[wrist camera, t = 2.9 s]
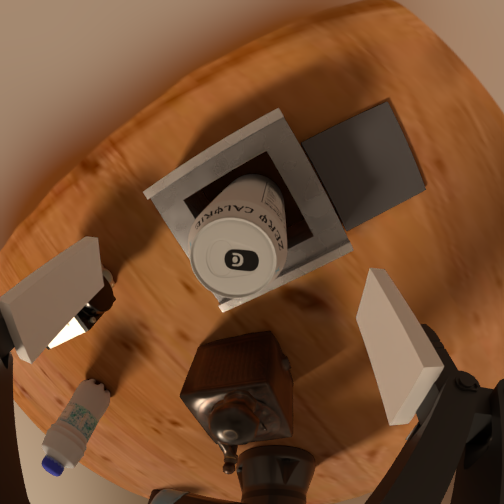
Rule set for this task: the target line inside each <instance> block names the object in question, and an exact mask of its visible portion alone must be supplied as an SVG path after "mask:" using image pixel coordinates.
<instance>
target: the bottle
mask: <svg viewBox="0 0 504 504" xmlns="http://www.w3.org/2000/svg"><path fill="white" fill-rule="evenodd" d="M95 383H96V381H95V380H94V379H90V380H84V381H82V382H81V383H80V384H79V386H78V387H77V389H76V391H75V392H74V394H73V396H72V398H71V400H70V401H69V403H68V404H67V406H66V407H65V409H64V410H63V412H62V414H61V415H60V417H59V418H58V420H57V421H56V423H55V424H52V425H51V428H50V429H49V430H47V433H46V436H45V438H44V441H43V443H42V449H43V450H44V452H45V453H46V456H45V457H44V459H43V461H42V466H43V468H44V469H45V470H46V471H47V472H49V473H50V474H52V475H54V476H60V475H61V474H62V472H63V470H64V467H66V468H74V467H75V466H76V465H77V463H78V462H79V460H80V459H81V458H82V457H83V456H84V452H85V450H86V444H87V442H88V440H89V438H90V437H91V435H92V433H93V431H94V429H95V427H96V425H97V423H98V422H99V420H100V418H101V417H102V416H103V414H104V413H105V411H106V409H107V408H108V406H109V403H110V392H109V391H108V390H105V391H104V385H103V384H102V383H100V384H99V385H96V384H95Z"/></svg>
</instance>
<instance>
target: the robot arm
mask: <svg viewBox="0 0 504 504" xmlns="http://www.w3.org/2000/svg"><path fill="white" fill-rule="evenodd" d="M103 287H104V282H103V275H102V268H101V260H100V252H99V243H98V238H97V237H88V236H86V237H84V238H83V239H81V240H80V241H78V242H77V243H75V244H74V245H72V246H71V247H69V248H68V249H66V250H65V251H63V252H62V253H60V254H59V255H57V256H56V257H54V258H53V259H51V260H50V261H48V262H47V263H46V264H44V265H43V266H41V267H40V268H39V269H37V270H36V271H34V272H33V273H32V274H30V275H29V276H28V277H26V278H25V279H23V280H22V281H21V282H19V283H18V284H17V285H16V286H14V287H13V288H12V289H10V290H9V291H8V292H6V293H5V294H4V295H3V296H1V297H0V504H30V502H29V500H28V497H27V493H26V488H25V484H24V479H23V475H22V469H21V464H20V458H19V452H18V445H17V438H16V429H15V417H14V405H13V404H14V403H13V357H12V354H11V352H10V351H11V350H12V349H13V348H14V347H15V349H16V351H17V354H18V356H19V358H20V359H22V360H24V361H26V362H28V363H31V364H32V363H33V362H34V361H35V360H36V358H37V357H38V356H39V355H40V354H41V353H42V352H43V350H44V349H45V348H46V347H47V346H48V345H49V344H50V343H51V341H52V340H53V339H54V338H55V337H56V336H57V335H58V334H59V333H60V331H61V330H62V329H63V328H64V327H65V326H66V325H67V324H68V323H69V322H70V321H71V320H72V319H73V317H74V316H75V315H76V314H77V313H78V312H79V311H80V310H81V309H82V308H83V307H84V306H85V305H86V304H87V303H88V302H89V301H90V300H91V299H92V298H93V297H94V296H95V295H96V294H97V293H98V292H99V291H100V290H101V289H102V288H103ZM356 320H357V323H358V326H359V328H360V331H361V334H362V337H363V340H364V343H365V346H366V349H367V352H368V355H369V358H370V362H371V365H372V368H373V371H374V374H375V377H376V381H377V384H378V387H379V391H380V394H381V398H382V401H383V404H384V408H385V412H386V415H387V419H388V422H389V425H400V424H409V422H410V421H411V419H412V418H413V416H414V415H415V413H416V414H417V417H418V420H419V422H418V423H417V425H416V426H415V427H414V429H413V430H412V431H411V433H410V434H409V435H408V437H407V438H406V440H407V442H406V443H405V445H404V447H403V448H402V450H401V452H400V453H399V455H398V456H397V458H396V460H395V461H394V463H393V464H392V466H391V467H390V469H389V470H388V472H387V473H386V475H385V476H384V478H383V479H382V481H381V482H380V483H379V485H378V486H377V488H376V489H375V490H374V492H373V493H372V495H371V496H370V497H369V498H368V500H367V501H366V502H365V504H441V502H442V499H443V498H444V495H445V493H446V491H447V489H448V487H449V485H450V482H451V480H452V478H453V475H454V473H455V470H456V476H455V482H454V488H453V494H452V499H451V503H450V504H504V379H502V380H500V381H499V383H498V384H497V386H496V387H495V388H494V389H489V388H483V387H480V385H479V383H478V381H477V380H476V379H475V377H474V376H472V375H471V374H469V373H467V372H464V371H458V369H457V368H456V366H455V364H454V363H453V361H452V359H451V357H450V356H449V354H448V352H447V351H446V349H444V346H443V344H442V343H441V342H440V339H439V338H438V336H437V334H436V333H435V332H434V331H433V330H432V329H431V328H430V327H429V326H427V325H426V324H420V323H419V322H418V320H417V318H416V317H415V315H414V314H413V312H412V310H411V309H410V307H409V306H408V304H407V302H406V301H405V299H404V298H403V296H402V295H401V293H400V292H399V290H398V289H397V287H396V286H395V284H394V283H393V281H392V280H391V278H390V277H389V275H388V274H387V272H386V271H385V269H377V268H370V269H369V273H368V276H367V280H366V284H365V288H364V291H363V295H362V299H361V302H360V306H359V309H358V312H357V316H356ZM456 468H457V469H456ZM236 471H237V475H238V479H239V483H240V487H241V491H242V499H241V502H234V501H228V500H222V499H216V498H211V497H206V496H201V495H197V494H193V493H190V492H188V491H187V492H183V491H178V490H174V489H163V490H161V491H160V492H159V493H158V494H157V495H156V496H155V497H154V498H153V500H152V502H151V503H150V504H306V493H307V491H308V488H309V485H310V483H311V480H312V477H313V474H314V471H315V460H314V457H313V456H312V455H311V454H310V453H308V452H306V451H304V450H301V449H298V448H294V447H288V446H264V447H257V448H253V449H250V450H247V451H245V452H243V453H242V454H241V455H240V456H239V457H238V462H237V466H236Z"/></svg>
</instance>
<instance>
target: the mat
mask: <svg viewBox="0 0 504 504" xmlns="http://www.w3.org/2000/svg"><path fill="white" fill-rule="evenodd" d="M301 144H302V146H303V148H304V149H305V151H306V153H307V155H308V157H309V158H310V160H311V162H312V164H313V166H314V168H315V170H316V171H317V173H318V175H319V177H320V179H321V181H322V183H323V185H324V187H325V189H326V191H327V193H328V194H329V196H330V198H331V200H332V202H333V204H334V206H335V208H336V211H337V213H338V215H339V217H340V219H341V221H342V223H343V225H344V227H345V229H346V231H348V230H350V229H352V228H354V227H356V226H358V225H360V224H362V223H364V222H365V221H367V220H369V219H371V218H373V217H375V216H377V215H379V214H381V213H383V212H385V211H387V210H389V209H390V208H392V207H394V206H396V205H398V204H400V203H402V202H404V201H406V200H408V199H409V198H411V197H413V196H415V195H417V194H419V193H421V192H423V191H424V190H426V188H425V185H424V183H423V180H422V177H421V175H420V172H419V170H418V167H417V165H416V162H415V160H414V157H413V155H412V152H411V150H410V148H409V145H408V143H407V141H406V139H405V136H404V134H403V132H402V130H401V128H400V126H399V123H398V121H397V119H396V117H395V115H394V113H393V111H392V109H391V107H390V105H389V103H388V102H385V103H382V104H380V105H378V106H376V107H374V108H371V109H369V110H367V111H365V112H363V113H360V114H358V115H356V116H354V117H352V118H350V119H348V120H346V121H344V122H342V123H339V124H337V125H335V126H333V127H331V128H329V129H327V130H325V131H323V132H321V133H319V134H317V135H315V136H313V137H311V138H309V139H307V140H305V141H304V142H302V143H301Z"/></svg>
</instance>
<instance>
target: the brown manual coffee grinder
mask: <svg viewBox="0 0 504 504" xmlns="http://www.w3.org/2000/svg"><path fill="white" fill-rule="evenodd" d="M290 368H291V366H290V362H289V360H288V358H287V357H286V356H285V355H284V354H283V352H282V350H281V348H280V346H279V344H278V341H277V340H276V338H275V337H274V336H273V334H272V333H271V331H267V332H258V333H250V334H245V335H241V336H236V337H231V338H226V339H222V340H217V341H214V342H211V343H208V344H205V345H202V346H199V347H198V349H197V352H196V355H195V357H194V360H193V362H192V365H191V367H190V370H189V372H188V375H187V377H186V380H185V382H184V385H183V388H182V390H181V393H180V398H181V399H182V401H183V402H184V403H185V405H186V406H187V407H188V409H189V410H190V411H191V413H192V414H193V415H194V417H195V418H196V419H197V421H198V422H199V423H200V424H201V426H202V427H203V428H204V430H205V431H206V432H207V433H208V435H209V436H210V437H211V438H212V440H213V441H214V442H215V443H216V444H218V445H219V447H220V448H221V450H222V452H223V453H224V458H225V459H224V462H225V464H224V466H223V472H224V473H226V474H232V473H233V472H234V471H235V465H234V464H236V463H237V462H238V456H237V455H236V452H237V447H238V445H243V444H247V443H248V442H255V441H264V440H272V439H280V438H286V437H292V434H293V384H294V383H293V380H292V377H291V373H290Z"/></svg>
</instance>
